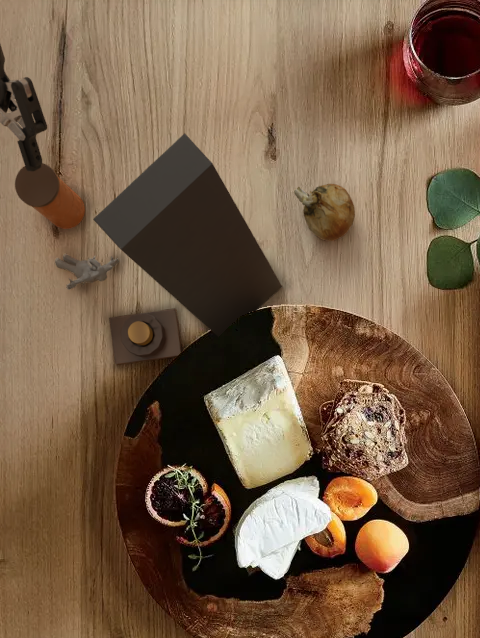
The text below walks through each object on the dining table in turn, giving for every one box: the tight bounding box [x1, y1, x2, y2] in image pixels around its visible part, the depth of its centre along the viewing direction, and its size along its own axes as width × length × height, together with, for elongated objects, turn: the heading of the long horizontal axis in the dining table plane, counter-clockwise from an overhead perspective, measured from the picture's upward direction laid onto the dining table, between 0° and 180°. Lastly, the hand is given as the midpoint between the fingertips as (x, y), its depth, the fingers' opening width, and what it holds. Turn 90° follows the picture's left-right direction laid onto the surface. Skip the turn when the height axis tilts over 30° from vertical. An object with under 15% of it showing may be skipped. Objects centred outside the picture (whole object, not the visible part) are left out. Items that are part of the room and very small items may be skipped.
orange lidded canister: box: [14, 162, 86, 230], centre depth 118 cm, size 6×6×10 cm
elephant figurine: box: [54, 253, 120, 291], centre depth 120 cm, size 10×6×9 cm
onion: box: [293, 183, 356, 242], centre depth 118 cm, size 8×8×8 cm
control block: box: [108, 308, 183, 366], centre depth 121 cm, size 10×7×2 cm
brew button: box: [128, 321, 153, 345], centre depth 120 cm, size 3×3×2 cm
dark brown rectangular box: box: [92, 133, 283, 338], centre depth 100 cm, size 16×12×44 cm
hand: (7, 167), depth 105 cm, fingers open, 8 cm apart
